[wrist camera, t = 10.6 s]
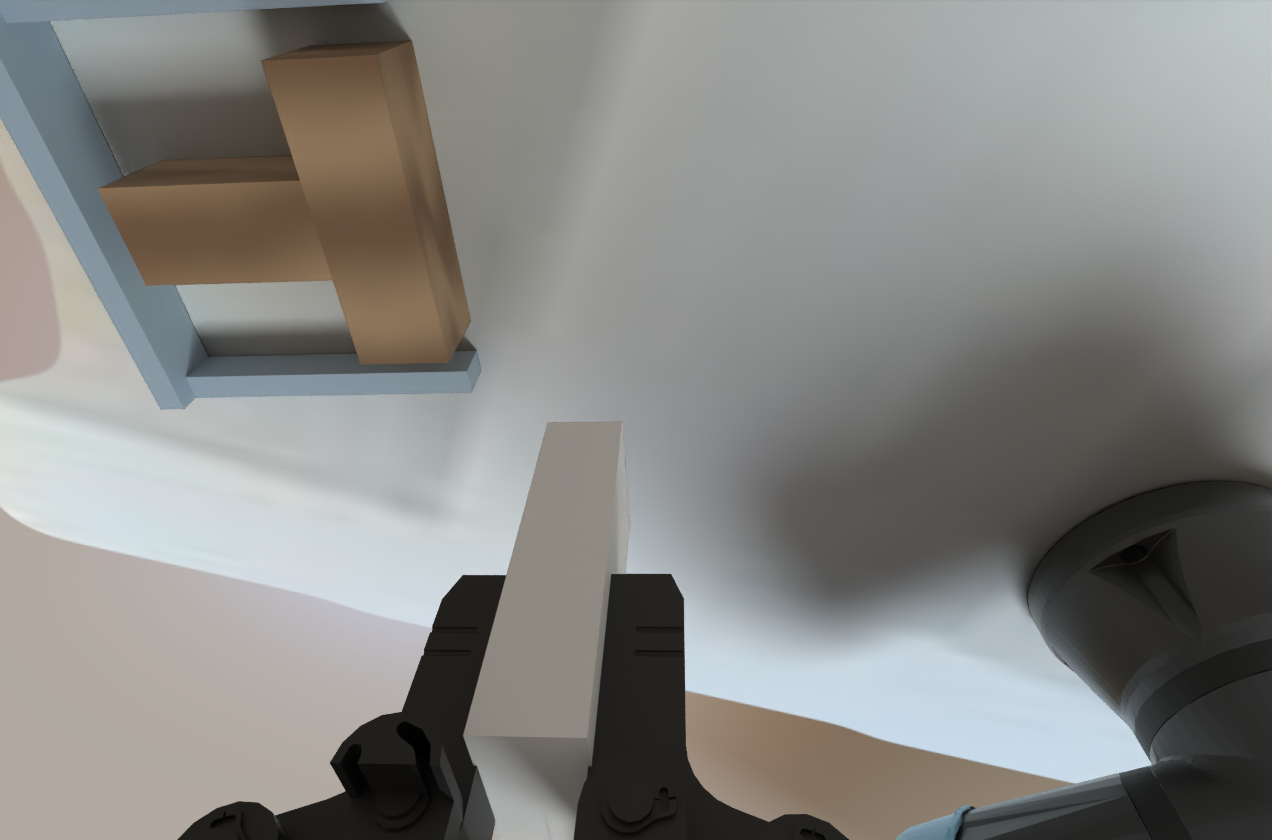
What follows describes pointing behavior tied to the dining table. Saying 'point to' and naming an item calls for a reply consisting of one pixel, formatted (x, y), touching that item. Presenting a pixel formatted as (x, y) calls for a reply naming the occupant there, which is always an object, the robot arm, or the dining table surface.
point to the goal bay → (143, 315)
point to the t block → (319, 205)
